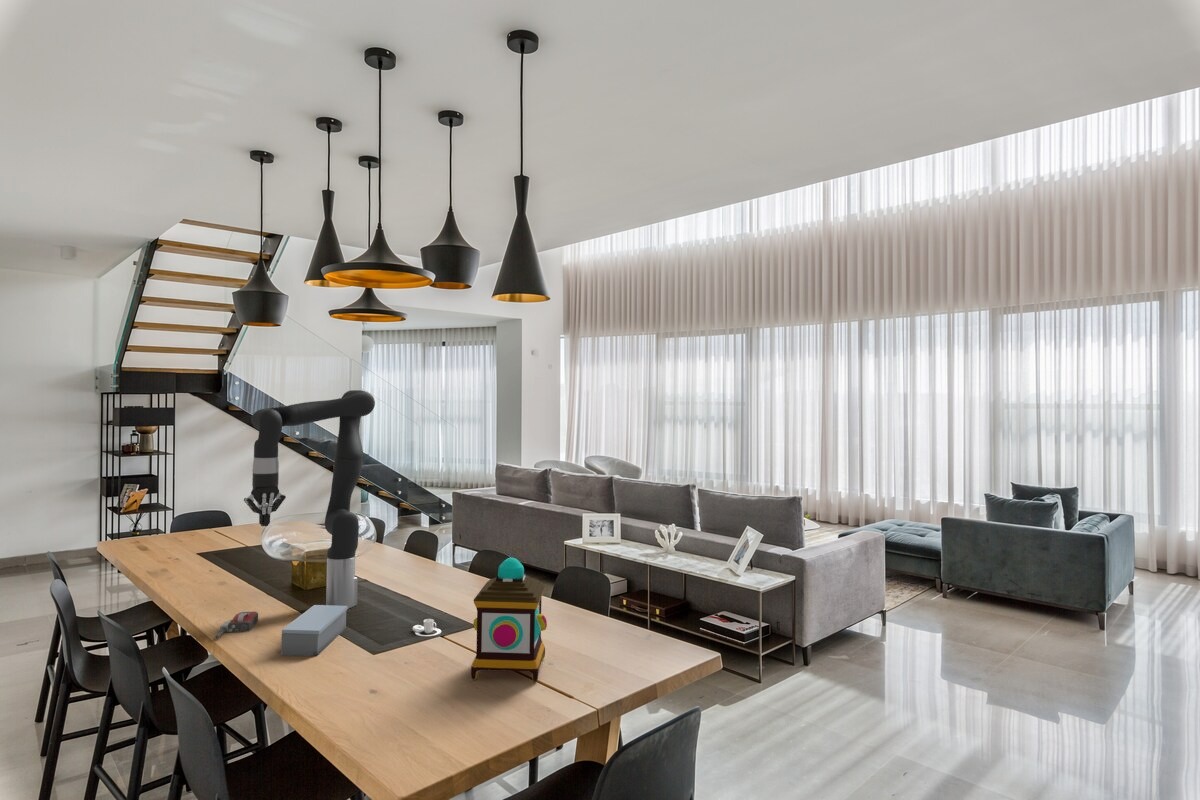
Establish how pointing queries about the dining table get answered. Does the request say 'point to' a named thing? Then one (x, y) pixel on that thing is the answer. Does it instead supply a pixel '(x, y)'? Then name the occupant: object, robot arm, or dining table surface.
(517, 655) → the decorative lantern
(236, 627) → the walkie-talkie
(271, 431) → the robot arm
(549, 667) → the dining table surface
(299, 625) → the duct lid
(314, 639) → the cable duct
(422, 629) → the teacup and saucer
